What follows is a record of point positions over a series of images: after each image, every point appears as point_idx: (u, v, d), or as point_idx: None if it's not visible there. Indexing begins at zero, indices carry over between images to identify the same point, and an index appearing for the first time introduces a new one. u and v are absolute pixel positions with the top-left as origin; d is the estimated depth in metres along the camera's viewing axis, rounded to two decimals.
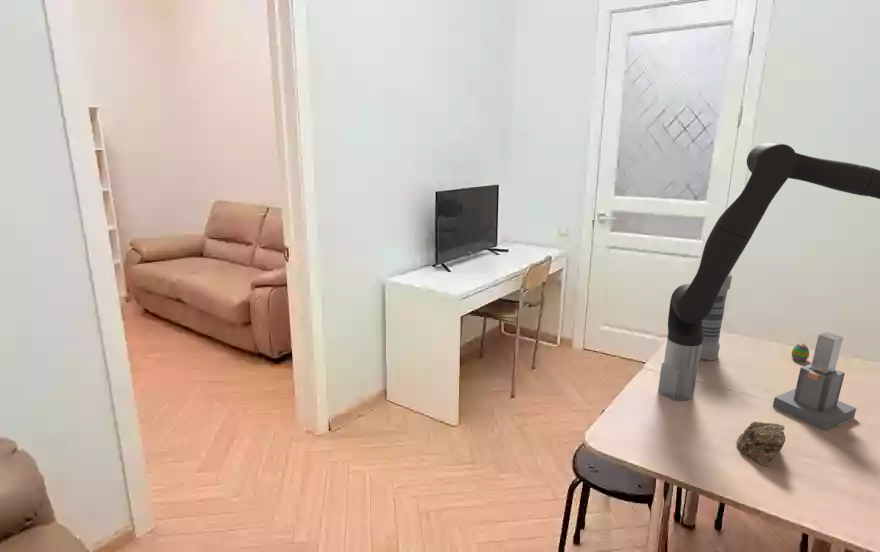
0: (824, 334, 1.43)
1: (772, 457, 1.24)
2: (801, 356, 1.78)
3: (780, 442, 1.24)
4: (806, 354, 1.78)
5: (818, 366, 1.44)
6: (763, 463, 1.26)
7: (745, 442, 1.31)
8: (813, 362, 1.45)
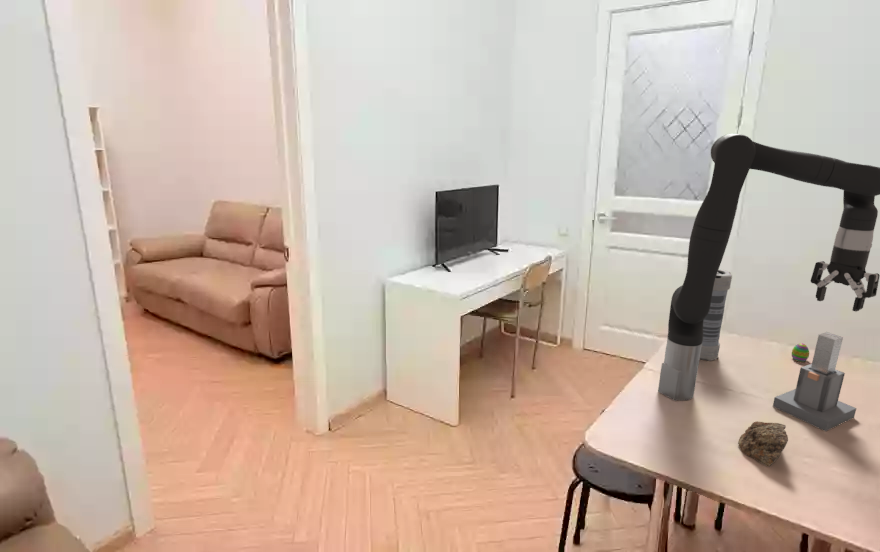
0: (824, 334, 1.43)
1: (776, 457, 1.24)
2: (801, 356, 1.78)
3: (783, 442, 1.24)
4: (806, 354, 1.78)
5: (818, 366, 1.44)
6: (766, 463, 1.26)
7: (747, 442, 1.31)
8: (813, 362, 1.45)
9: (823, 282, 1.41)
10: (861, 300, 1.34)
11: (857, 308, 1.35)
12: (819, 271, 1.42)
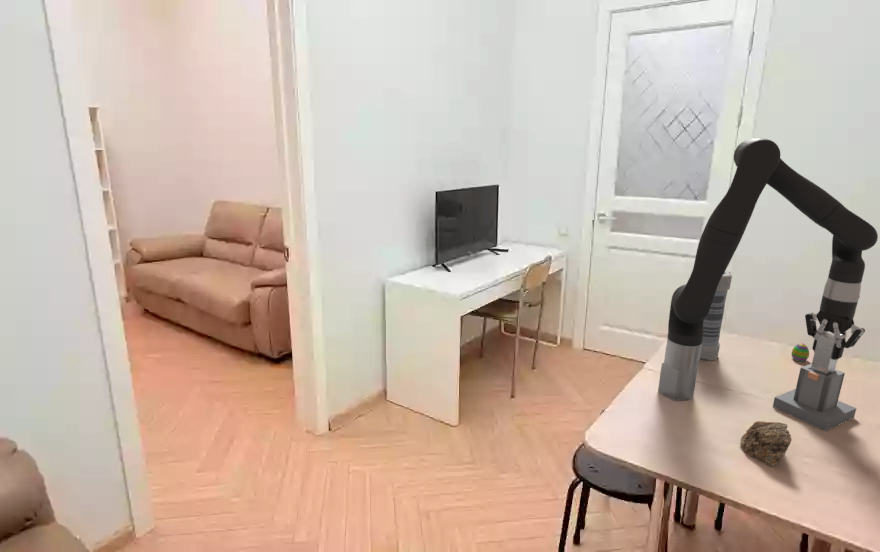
0: (824, 334, 1.43)
1: (780, 457, 1.24)
2: (801, 356, 1.78)
3: (787, 441, 1.24)
4: (806, 354, 1.78)
5: (818, 366, 1.44)
6: (771, 463, 1.26)
7: (750, 442, 1.30)
8: (813, 362, 1.45)
9: (818, 334, 1.44)
10: (840, 350, 1.40)
11: (836, 357, 1.41)
12: (811, 322, 1.46)
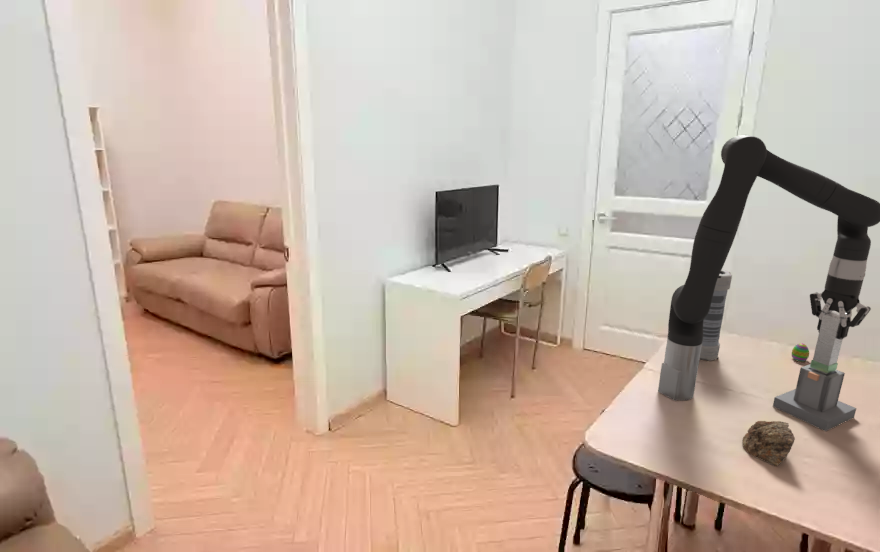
0: (829, 314, 1.42)
1: (784, 456, 1.24)
2: (801, 356, 1.78)
3: (791, 441, 1.24)
4: (806, 354, 1.78)
5: (822, 346, 1.43)
6: (775, 463, 1.26)
7: (753, 442, 1.30)
8: (818, 342, 1.44)
9: (823, 313, 1.42)
10: (845, 329, 1.38)
11: (841, 336, 1.39)
12: (816, 302, 1.44)
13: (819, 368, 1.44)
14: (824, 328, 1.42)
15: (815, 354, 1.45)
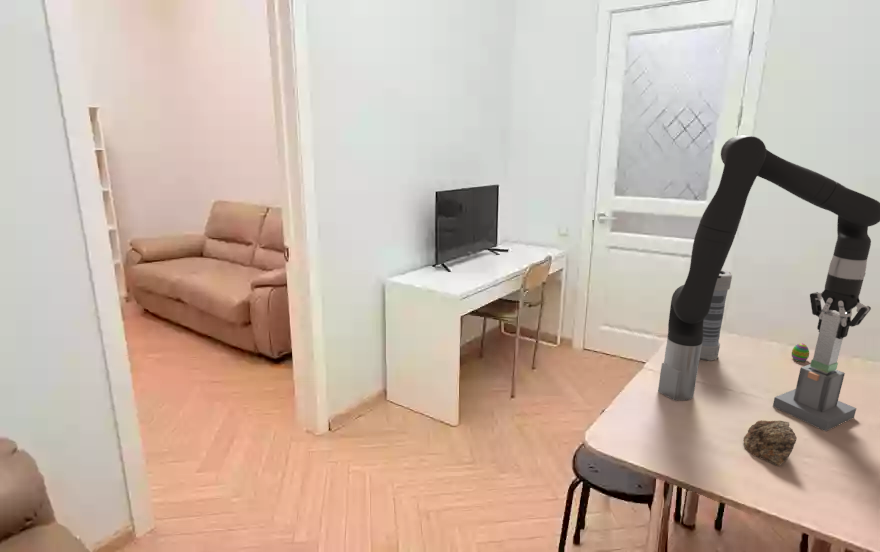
0: (829, 313, 1.41)
1: (787, 456, 1.24)
2: (801, 356, 1.78)
3: (793, 440, 1.24)
4: (806, 354, 1.78)
5: (822, 345, 1.43)
6: (777, 462, 1.26)
7: (755, 442, 1.30)
8: (818, 342, 1.44)
9: (823, 313, 1.42)
10: (845, 328, 1.38)
11: (841, 336, 1.39)
12: (816, 302, 1.44)
13: (819, 368, 1.44)
14: (824, 328, 1.42)
15: (815, 354, 1.45)
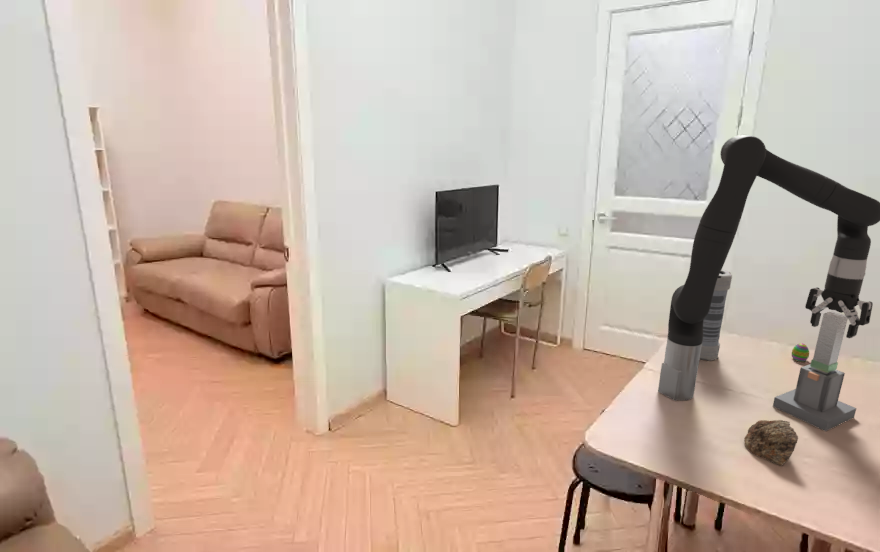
0: (829, 313, 1.41)
1: (789, 456, 1.24)
2: (801, 356, 1.78)
3: (794, 440, 1.25)
4: (806, 354, 1.78)
5: (822, 345, 1.43)
6: (779, 462, 1.26)
7: (756, 442, 1.31)
8: (818, 342, 1.44)
9: (817, 308, 1.43)
10: (855, 327, 1.36)
11: (851, 335, 1.37)
12: (814, 297, 1.44)
13: (819, 368, 1.44)
14: (824, 328, 1.42)
15: (815, 354, 1.45)
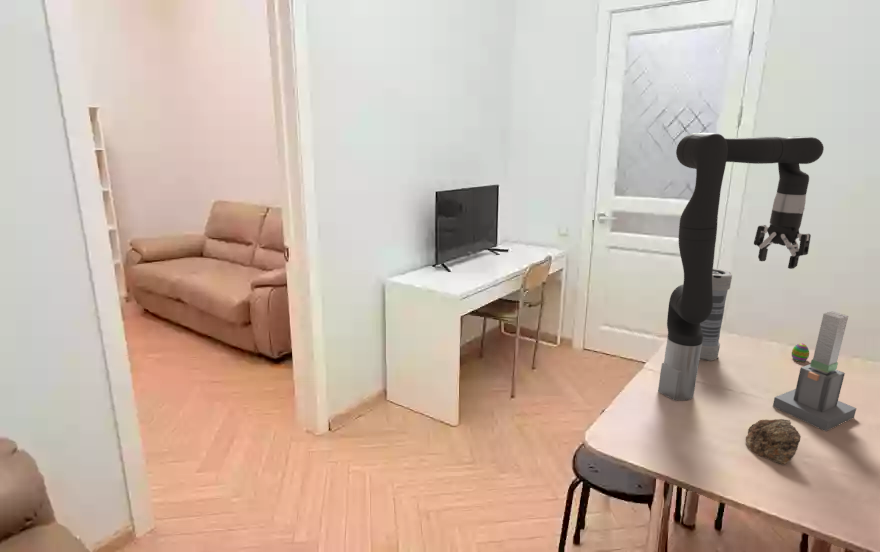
0: (829, 313, 1.41)
1: (792, 455, 1.25)
2: (801, 356, 1.78)
3: (797, 438, 1.25)
4: (806, 354, 1.78)
5: (822, 345, 1.43)
6: (782, 462, 1.26)
7: (758, 442, 1.31)
8: (818, 342, 1.44)
9: (764, 243, 1.56)
10: (795, 258, 1.49)
11: (792, 266, 1.50)
12: (761, 234, 1.57)
13: (819, 368, 1.44)
14: (824, 328, 1.42)
15: (815, 354, 1.45)
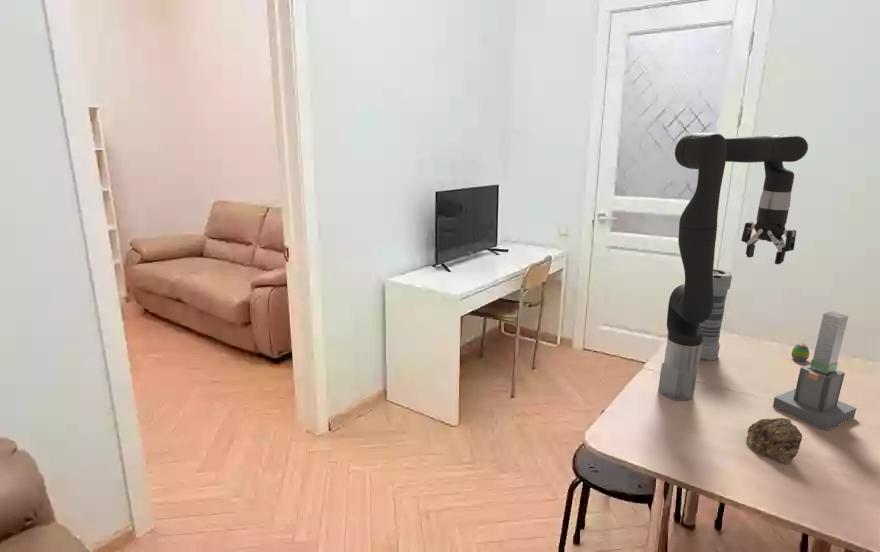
0: (829, 313, 1.41)
1: (795, 454, 1.25)
2: (801, 356, 1.78)
3: (799, 437, 1.25)
4: (806, 354, 1.78)
5: (822, 345, 1.43)
6: (785, 461, 1.26)
7: (760, 442, 1.31)
8: (818, 342, 1.44)
9: (751, 240, 1.60)
10: (781, 254, 1.53)
11: (778, 261, 1.54)
12: (748, 230, 1.61)
13: (819, 368, 1.44)
14: (824, 328, 1.42)
15: (815, 354, 1.45)
